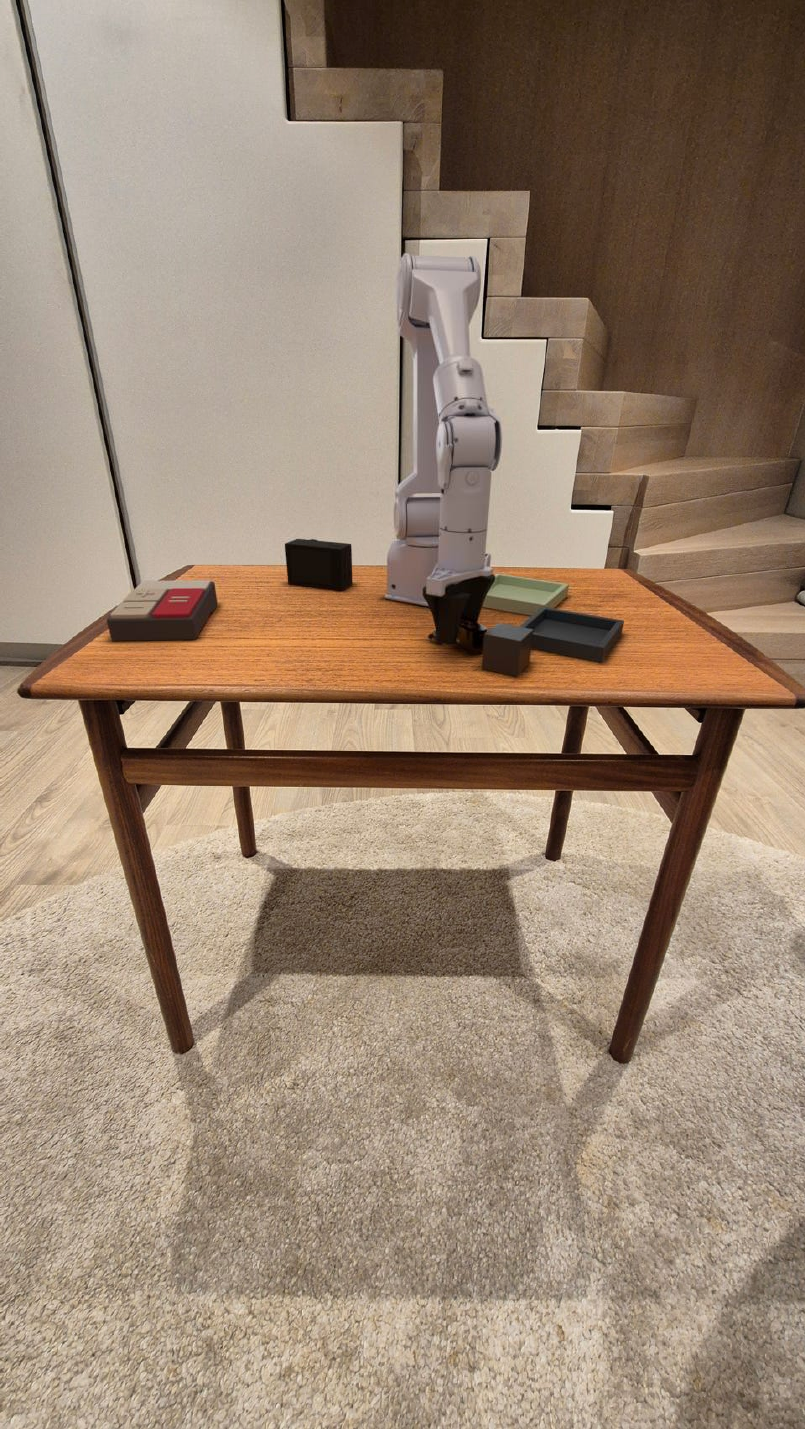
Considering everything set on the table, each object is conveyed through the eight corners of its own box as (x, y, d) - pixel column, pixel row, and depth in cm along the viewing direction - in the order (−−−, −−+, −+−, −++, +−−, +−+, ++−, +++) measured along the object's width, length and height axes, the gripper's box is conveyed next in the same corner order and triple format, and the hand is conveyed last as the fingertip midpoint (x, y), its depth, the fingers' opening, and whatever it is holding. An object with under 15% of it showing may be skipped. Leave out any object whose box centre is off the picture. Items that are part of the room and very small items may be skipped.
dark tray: (512, 644, 79) (514, 630, 78) (540, 619, 88) (542, 606, 87) (601, 662, 74) (604, 647, 73) (621, 634, 83) (624, 620, 82)
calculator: (103, 614, 77) (139, 576, 89) (111, 645, 79) (145, 604, 92) (191, 613, 77) (214, 576, 90) (196, 644, 79) (218, 603, 92)
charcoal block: (481, 669, 72) (484, 633, 70) (495, 656, 75) (498, 622, 73) (516, 677, 70) (520, 641, 68) (529, 664, 73) (533, 629, 71)
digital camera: (356, 582, 104) (355, 541, 100) (342, 591, 99) (341, 548, 96) (303, 576, 107) (300, 536, 103) (287, 584, 102) (284, 543, 99)
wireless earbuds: (456, 635, 82) (457, 612, 80) (487, 652, 76) (489, 628, 75) (427, 641, 80) (427, 617, 78) (457, 659, 74) (458, 635, 73)
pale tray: (465, 604, 94) (466, 591, 93) (495, 584, 104) (496, 573, 103) (543, 617, 88) (544, 604, 88) (567, 596, 98) (569, 584, 97)
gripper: (469, 543, 64) (461, 660, 70) (516, 521, 75) (506, 624, 82) (411, 536, 67) (409, 649, 73) (465, 516, 78) (459, 615, 85)
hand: (457, 635), depth 78 cm, fingers open, 6 cm apart
